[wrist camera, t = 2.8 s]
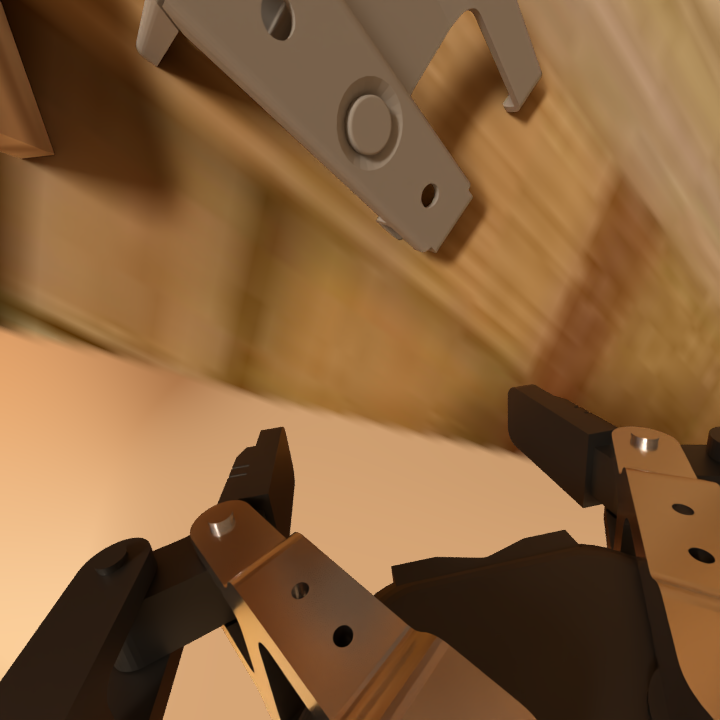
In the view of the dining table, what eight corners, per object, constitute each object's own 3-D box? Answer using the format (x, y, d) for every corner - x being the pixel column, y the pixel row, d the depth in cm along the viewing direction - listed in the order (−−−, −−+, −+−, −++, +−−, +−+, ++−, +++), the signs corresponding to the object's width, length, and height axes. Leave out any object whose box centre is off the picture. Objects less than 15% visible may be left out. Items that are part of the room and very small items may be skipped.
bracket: (240, -198, 14) (365, -531, 7) (427, 92, 24) (558, 76, 17) (132, 49, 16) (144, -15, 9) (347, 225, 26) (435, 261, 19)
